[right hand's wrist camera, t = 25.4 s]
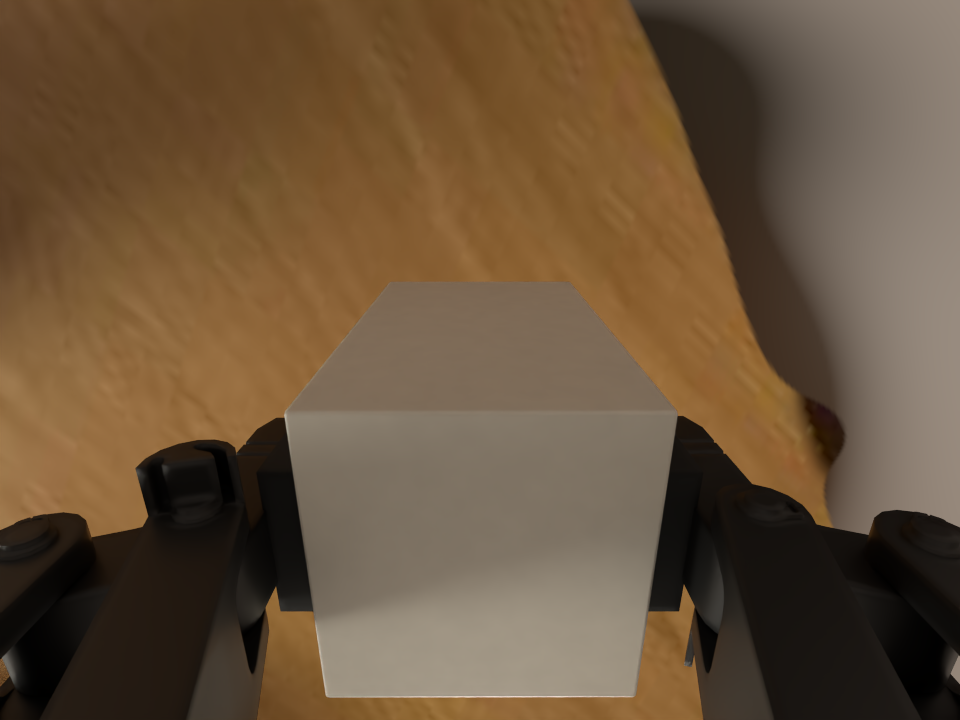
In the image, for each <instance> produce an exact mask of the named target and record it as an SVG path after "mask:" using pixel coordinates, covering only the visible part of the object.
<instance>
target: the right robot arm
mask: <svg viewBox="0 0 960 720" xmlns="http://www.w3.org/2000/svg"><path fill="white" fill-rule="evenodd" d="M136 472H137V476H138V480H139V483H140V487H141V491H142V494H143V498H144V502H145V505H146V509H147V513H148V518H147V520H146V522H145V524H144V526H143V527H141V528H137V529H132V530H127V531H122V532H117V533H112V534H107V535H101V536H96V537H91V534H90V531H89V528H88V525H87V522H86V520H85V519H84V518H82V517H81V516H80V515H78V514H72V513H64V512H63V513H55V514H43V515H38V516H34V517H33V518H27V519H24V520H21V521H18V522H16V523H15V524H14V525H11V526H9V527H7V528H4V529H2V530H0V659H1V658H2V659H3V661H4V663H5V666H6V668H7V670H8V673H9V675H10V677H9V678H8V679H7V680H6V681H5V682H4V683H3V685H2V686H1V687H0V720H257V714H258V707H259V700H260V692H261V685H262V678H263V671H264V664H265V657H266V649H267V642H268V635H269V626H268V619H267V614H266V608H265V607H266V605H267V603H268V601H269V599H270V597H271V595H272V593H273V591H274V589H275V587H276V588H277V593H278V599H279V605H280V610H281V611H313V605H312V598H311V591H310V585H309V578H308V571H307V564H306V558H305V551H304V544H303V537H302V531H301V524H300V517H299V510H298V504H297V497H296V490H295V483H294V477H293V470H292V463H291V456H290V450H289V443H288V436H287V429H286V423H285V418H275V419H274V420H272V421H270V422H269V423H267V424H265V425H263V426H262V427H260V428H258V429H257V430H256V431H255V432H254V434H253V435H252V436H251V437H250V438H249V439H248V441H247V442H246V445H243V446H242V447H241V449H240V450H239V451H238V452H237V455H236V450H235V447H233V446H232V445H231V444H229V443H228V442H224V441H219V440H196V441H191V442H186V443H181V444H177V445H174V446H171V447H168V448H166V449H163V450H160V451H158V452H157V453H155V454H153V455H151V456H149V457H148V458H146V459H145V460H143V461H142V462H141V463H140V464H139V465H138V466H137V467H136ZM684 585H685V587H686V589H687V591H688V593H689V595H690V597H691V599H692V601H693V603H694V605H695V608H694V614H693V619H692V624H691V629H690V635H689V640H688V645H687V651H686V657H685V664H684V665H685V666H689V667H692V662H693V657H694V655H695V663H696V670H697V677H698V684H699V691H700V698H701V705H702V713H703V720H960V684H959V683H958V682H957V681H956V680H955V678H954V677H953V676H952V675H951V674H950V673H951V671H952V669H953V666H954V664H955V662H956V660H957V658H958V655H959V656H960V527H957V526H955V525H953V524H951V523H948V522H946V521H945V520H943V519H941V518H938V517H935V516H932V515H930V516H928V515H927V514H924V513H920V512H910V511H902V510H893V511H884V512H881V513H880V514H879V515H877V516H876V517H875V518H874V520H873V524H872V527H871V530H870V533H869V535H866V534H861V533H855V532H850V531H845V530H840V529H835V528H830V527H825V526H821V525H817V524H816V523H815V521H814V519H813V517H812V516H811V514H810V513H809V512H808V511H807V510H806V509H805V507H804V506H803V505H802V504H800V503H799V502H797V501H796V500H794V499H793V498H791V497H789V496H788V495H785V494H783V493H781V492H778V491H776V490H773V489H771V488H767V487H762V486H758V485H754V484H752V483H751V482H750V481H749V480H748V479H747V478H746V477H745V475H744V474H743V473H742V472H741V471H740V470H739V469H738V467H737V466H736V465H735V464H734V463H733V462H732V461H731V459H730V458H729V457H728V456H727V455H726V454H723V450H722V449H721V448H720V447H719V446H718V445H717V443H714V440H713V439H712V438H711V437H710V435H709V434H708V433H707V432H706V431H705V430H704V428H703V427H701V426H699V425H698V424H696V423H694V422H693V421H691V420H689V419H687V418H686V417H684V416H677V423H676V429H675V436H674V443H673V449H672V456H671V463H670V470H669V476H668V483H667V490H666V496H665V503H664V510H663V516H662V523H661V530H660V536H659V543H658V550H657V557H656V563H655V570H654V577H653V583H652V590H651V597H650V603H649V610H648V611H679V608H680V603H681V597H682V591H683V586H684Z"/></svg>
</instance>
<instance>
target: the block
mask: <svg viewBox="0 0 960 720" xmlns="http://www.w3.org/2000/svg"><path fill="white" fill-rule="evenodd" d="M284 416H285V423H286V429H287V436H288V443H289V450H290V456H291V463H292V470H293V477H294V483H295V490H296V497H297V504H298V510H299V517H300V524H301V531H302V537H303V544H304V551H305V558H306V564H307V571H308V578H309V585H310V591H311V598H312V605H313V612H314V618H315V625H316V632H317V639H318V645H319V652H320V659H321V666H322V672H323V679H324V686H325V693H326V696H327V697H634V696H635V695H636V690H637V684H638V677H639V670H640V664H641V657H642V650H643V644H644V637H645V630H646V623H647V617H648V610H649V603H650V597H651V590H652V583H653V577H654V570H655V563H656V557H657V550H658V543H659V536H660V530H661V523H662V516H663V510H664V503H665V496H666V490H667V483H668V476H669V470H670V463H671V456H672V449H673V443H674V436H675V429H676V423H677V416H678V413H677V411H676V409H675V408H674V407H673V406H672V405H671V403H670V402H669V401H668V400H667V399H666V397H665V396H664V395H663V394H662V392H661V391H660V390H659V389H658V388H657V386H656V385H655V384H654V383H653V382H652V380H651V379H650V378H649V377H648V376H647V374H646V373H645V372H644V371H643V370H642V368H641V367H640V366H639V365H638V364H637V362H636V361H635V360H634V359H633V358H632V356H631V355H630V354H629V353H628V351H627V350H626V349H625V348H624V347H623V345H622V344H621V343H620V342H619V341H618V339H617V338H616V337H615V336H614V335H613V333H612V332H611V331H610V330H609V329H608V327H607V326H606V325H605V324H604V323H603V321H602V320H601V319H600V318H599V316H598V315H597V314H596V313H595V312H594V310H593V309H592V308H591V307H590V306H589V304H588V303H587V302H586V301H585V300H584V298H583V297H582V296H581V295H580V294H579V292H578V291H577V290H576V289H575V288H574V286H573V285H572V284H571V283H570V282H390V283H389V284H388V285H387V286H386V288H385V289H384V290H383V291H382V293H381V294H380V295H379V296H378V298H377V299H376V300H375V301H374V303H373V304H372V305H371V306H370V307H369V309H368V310H367V311H366V312H365V314H364V315H363V316H362V317H361V319H360V320H359V321H358V322H357V323H356V325H355V326H354V327H353V328H352V330H351V331H350V332H349V333H348V335H347V336H346V337H345V338H344V339H343V341H342V342H341V343H340V344H339V346H338V347H337V348H336V349H335V351H334V352H333V353H332V354H331V355H330V357H329V358H328V359H327V360H326V362H325V363H324V364H323V365H322V367H321V368H320V369H319V370H318V372H317V373H316V374H315V375H314V376H313V378H312V379H311V380H310V381H309V383H308V384H307V385H306V386H305V388H304V389H303V390H302V391H301V392H300V394H299V395H298V396H297V397H296V399H295V400H294V401H293V402H292V404H291V405H290V406H289V407H288V408H287V410H286V411H285V414H284Z"/></svg>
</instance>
